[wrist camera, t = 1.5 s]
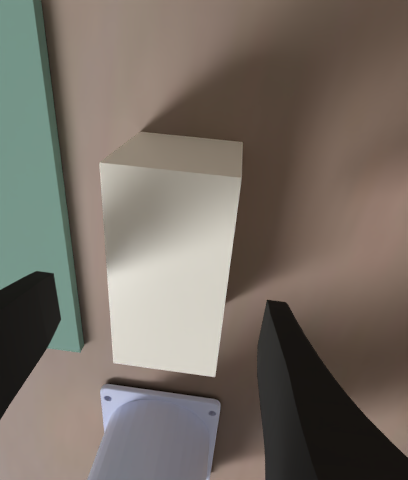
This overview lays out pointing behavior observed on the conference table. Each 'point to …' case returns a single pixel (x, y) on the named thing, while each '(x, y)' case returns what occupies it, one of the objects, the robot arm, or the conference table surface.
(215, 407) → the robot arm
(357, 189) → the conference table surface
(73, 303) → the mat
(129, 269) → the card box
